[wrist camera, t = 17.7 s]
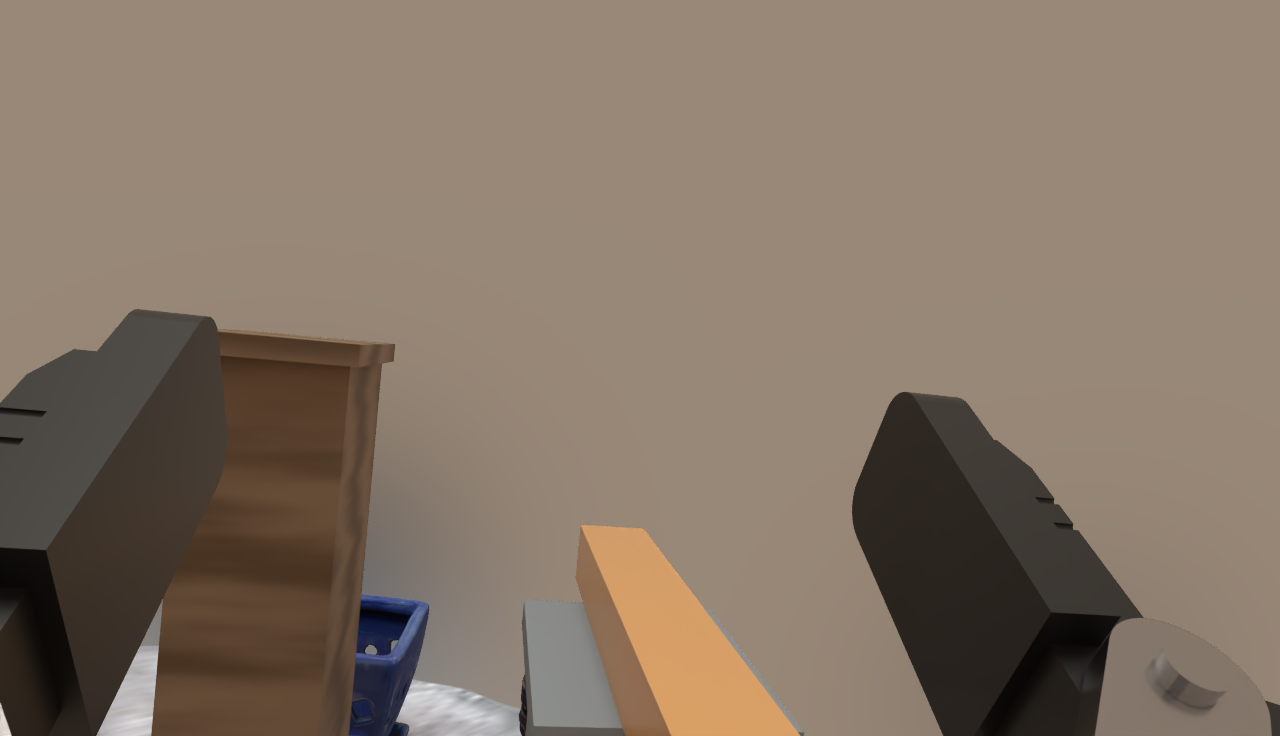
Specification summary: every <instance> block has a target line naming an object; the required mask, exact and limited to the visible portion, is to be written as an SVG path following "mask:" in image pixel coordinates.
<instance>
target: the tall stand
mask: <svg viewBox="0 0 1280 736" xmlns="http://www.w3.org/2000/svg"><path fill="white" fill-rule="evenodd" d="M217 330H218V329H217ZM218 335H219V344H220V356H221V367H222V379H223V390H224V402H225V413H226V424H227V448H226V456H225V462H224V467H223V471H222V475H221V478H220V481H219V484H218V486H217V488H216V490H215V492H214V494H213V496H212V499H211V501H210V503H209V505H208V507H207V509H206V511H205V513H204V515H203V517H202V519H201V521H200V523H199V525H198V527H197V529H196V531H195V534H194V536H193V538H192V540H191V542H190V544H189V546H188V548H187V550H186V552H185V554H184V556H183V558H182V560H181V562H180V564H179V566H178V568H177V571H176V573H175V575H174V577H173V579H172V581H171V583H170V585H169V587H168V589H167V591H166V593H165V595H164V597H163V606H162V618H161V630H160V641H159V653H158V664H157V676H156V688H155V699H154V711H153V723H152V735H151V736H349V728H350V716H351V705H352V694H353V683H354V671H355V660H356V649H357V638H358V626H359V615H360V604H361V593H362V581H363V570H364V569H363V568H364V559H365V547H366V536H367V525H368V513H369V503H370V490H371V480H372V469H373V458H374V457H373V456H374V446H375V435H376V424H377V412H378V401H379V390H380V379H381V368H382V363H387V362H392V361H394V350H395V344H387V343H376V342H366V341H365V342H364V341H354V340H344V339H333V338H322V337H311V336H299V335H289V334H278V333H267V332H256V331H241V330H218Z"/></svg>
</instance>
